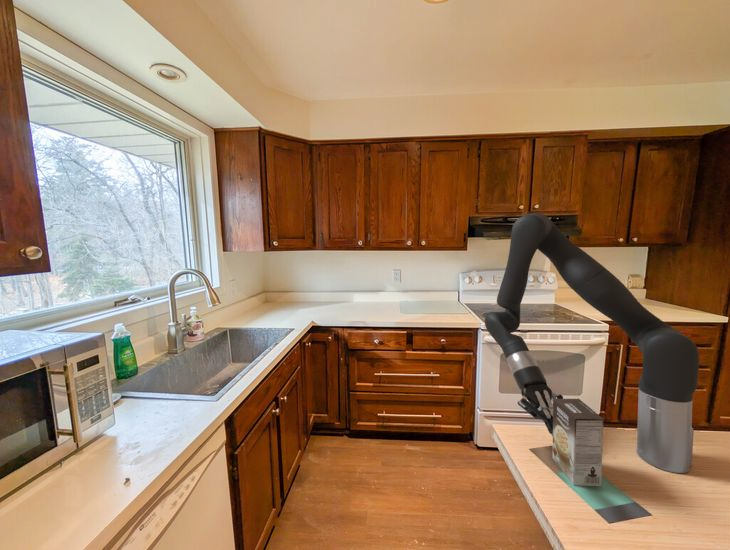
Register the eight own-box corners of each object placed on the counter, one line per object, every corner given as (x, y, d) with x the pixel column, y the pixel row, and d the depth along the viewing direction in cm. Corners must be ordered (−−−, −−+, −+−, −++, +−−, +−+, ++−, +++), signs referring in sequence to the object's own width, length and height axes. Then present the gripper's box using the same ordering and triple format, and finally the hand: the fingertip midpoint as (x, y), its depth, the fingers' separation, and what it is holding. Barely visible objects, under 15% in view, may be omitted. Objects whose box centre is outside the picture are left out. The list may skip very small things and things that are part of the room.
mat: (561, 445, 79) (561, 444, 79) (652, 516, 58) (652, 514, 58) (528, 449, 78) (528, 448, 78) (608, 524, 56) (608, 523, 56)
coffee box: (550, 458, 74) (551, 397, 73) (577, 458, 74) (578, 397, 73) (573, 486, 65) (574, 417, 64) (603, 487, 64) (605, 418, 63)
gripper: (510, 366, 82) (542, 435, 70) (552, 362, 83) (590, 428, 72) (499, 377, 87) (527, 441, 76) (538, 373, 89) (571, 435, 78)
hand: (557, 435), depth 74 cm, fingers closed
